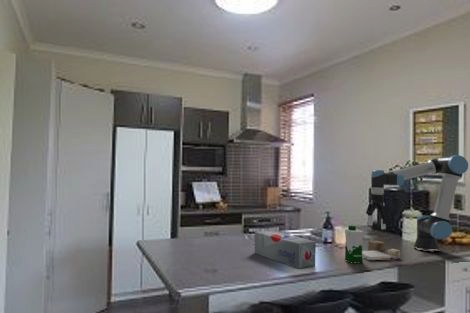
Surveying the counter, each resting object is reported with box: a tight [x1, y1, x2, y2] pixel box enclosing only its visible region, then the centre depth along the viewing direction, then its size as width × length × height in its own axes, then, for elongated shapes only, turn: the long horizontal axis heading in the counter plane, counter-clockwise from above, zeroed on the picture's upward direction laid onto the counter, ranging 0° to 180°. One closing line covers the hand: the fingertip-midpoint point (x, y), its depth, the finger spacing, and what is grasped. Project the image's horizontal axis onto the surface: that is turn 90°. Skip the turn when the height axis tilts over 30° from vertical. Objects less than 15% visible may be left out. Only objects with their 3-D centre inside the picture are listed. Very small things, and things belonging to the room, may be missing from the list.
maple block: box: [386, 248, 401, 257], centre depth 216 cm, size 5×5×5 cm
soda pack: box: [254, 230, 317, 270], centre depth 207 cm, size 41×13×14 cm, turn 32°
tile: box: [362, 250, 391, 259], centre depth 216 cm, size 14×14×2 cm
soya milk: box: [344, 225, 365, 264], centre depth 206 cm, size 9×9×20 cm
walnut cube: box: [367, 240, 386, 252], centre depth 229 cm, size 7×7×7 cm
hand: (376, 227), depth 229 cm, fingers open, 13 cm apart
